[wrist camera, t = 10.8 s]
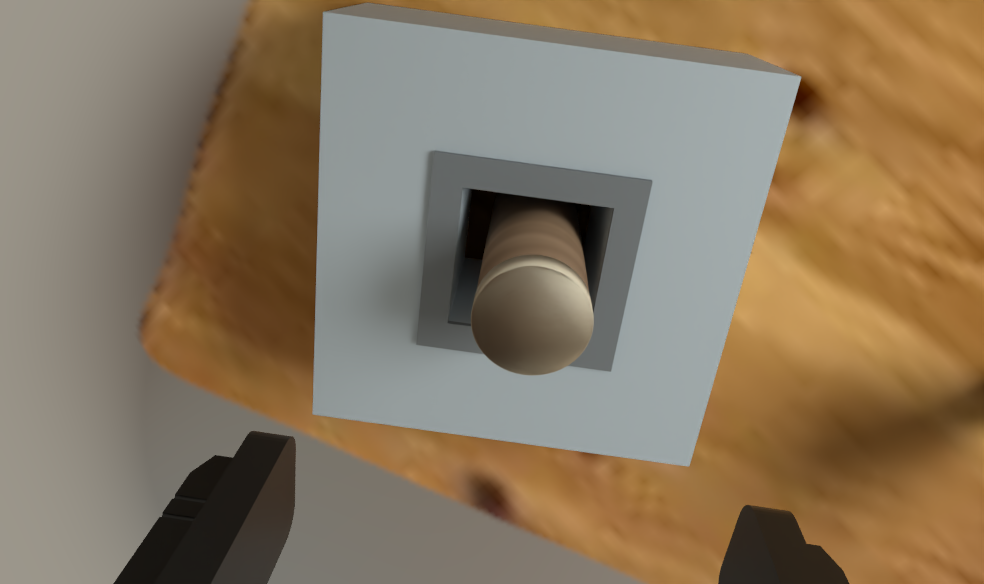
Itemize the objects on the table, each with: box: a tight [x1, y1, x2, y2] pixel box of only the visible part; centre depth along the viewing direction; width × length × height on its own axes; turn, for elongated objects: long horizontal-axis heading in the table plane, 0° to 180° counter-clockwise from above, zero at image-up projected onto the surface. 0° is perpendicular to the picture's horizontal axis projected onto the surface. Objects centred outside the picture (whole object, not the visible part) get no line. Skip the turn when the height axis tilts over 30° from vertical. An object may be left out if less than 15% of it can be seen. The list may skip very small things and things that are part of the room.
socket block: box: [313, 3, 801, 466], centre depth 27 cm, size 14×14×6 cm
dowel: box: [471, 192, 594, 376], centre depth 25 cm, size 3×3×10 cm
